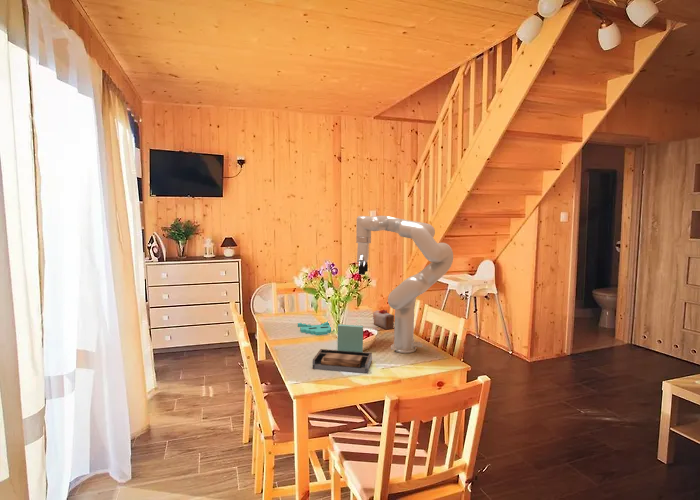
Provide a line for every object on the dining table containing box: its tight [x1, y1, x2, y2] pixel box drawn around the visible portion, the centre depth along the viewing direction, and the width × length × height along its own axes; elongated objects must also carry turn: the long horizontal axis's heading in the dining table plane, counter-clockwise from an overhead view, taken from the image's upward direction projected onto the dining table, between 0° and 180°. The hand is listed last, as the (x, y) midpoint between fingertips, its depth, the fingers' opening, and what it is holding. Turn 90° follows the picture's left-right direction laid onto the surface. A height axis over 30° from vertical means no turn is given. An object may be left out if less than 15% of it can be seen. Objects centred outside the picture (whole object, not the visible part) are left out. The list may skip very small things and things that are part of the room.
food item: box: [372, 309, 395, 330], centre depth 253 cm, size 14×8×10 cm, turn 34°
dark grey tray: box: [312, 348, 373, 374], centre depth 191 cm, size 24×14×5 cm, turn 79°
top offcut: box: [324, 353, 362, 364], centre depth 188 cm, size 16×6×2 cm, turn 77°
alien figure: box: [297, 320, 331, 336], centre depth 246 cm, size 20×2×20 cm
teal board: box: [336, 323, 364, 352], centre depth 207 cm, size 12×2×14 cm, turn 79°
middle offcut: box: [321, 356, 358, 367], centre depth 189 cm, size 16×6×2 cm, turn 82°
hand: (363, 273), depth 222 cm, fingers open, 9 cm apart
